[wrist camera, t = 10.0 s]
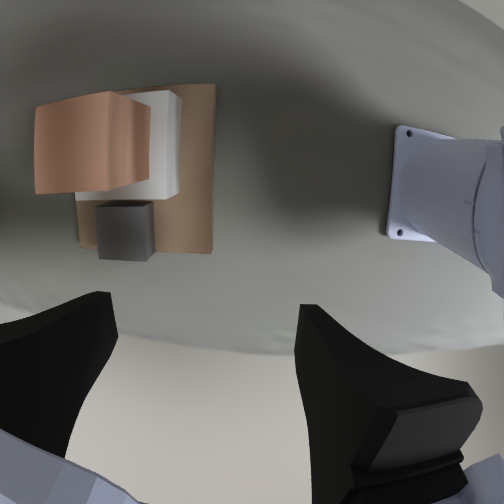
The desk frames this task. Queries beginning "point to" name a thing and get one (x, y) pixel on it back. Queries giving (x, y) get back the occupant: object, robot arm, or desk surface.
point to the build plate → (196, 180)
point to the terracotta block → (91, 143)
